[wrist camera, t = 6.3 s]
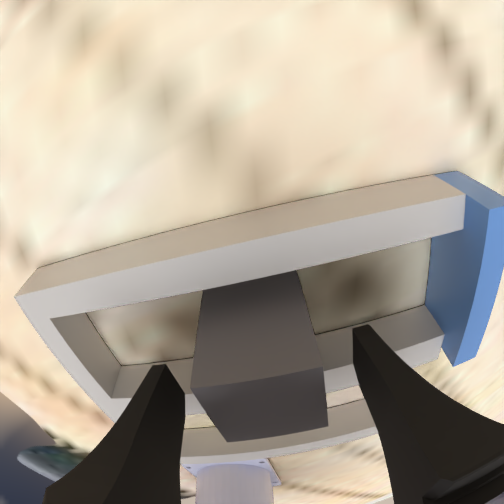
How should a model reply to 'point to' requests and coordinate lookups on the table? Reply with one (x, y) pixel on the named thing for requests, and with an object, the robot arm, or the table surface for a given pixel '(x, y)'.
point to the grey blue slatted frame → (276, 262)
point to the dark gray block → (258, 360)
